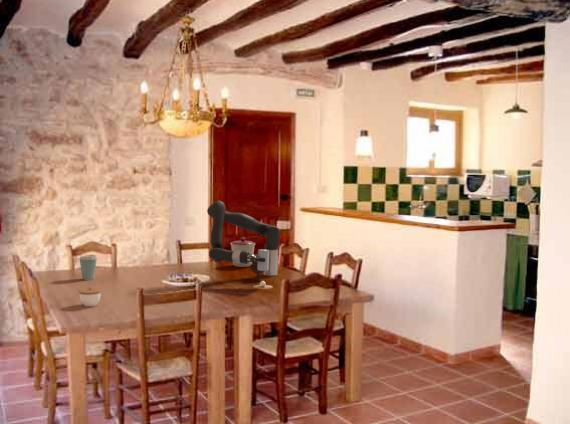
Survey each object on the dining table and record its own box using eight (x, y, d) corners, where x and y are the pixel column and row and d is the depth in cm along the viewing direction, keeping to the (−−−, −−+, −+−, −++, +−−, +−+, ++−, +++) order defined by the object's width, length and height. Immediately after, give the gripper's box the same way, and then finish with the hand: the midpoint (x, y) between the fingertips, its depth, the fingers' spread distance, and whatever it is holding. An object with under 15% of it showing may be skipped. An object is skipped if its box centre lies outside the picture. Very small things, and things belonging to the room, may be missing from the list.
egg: (261, 285, 365) (261, 280, 365) (266, 286, 364) (266, 280, 364) (259, 287, 362) (259, 281, 362) (264, 287, 361) (264, 281, 361)
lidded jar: (82, 302, 315) (82, 285, 314) (103, 302, 316) (103, 285, 315) (76, 307, 305) (76, 289, 304) (98, 307, 305) (98, 289, 305)
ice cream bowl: (264, 282, 379) (265, 258, 378) (247, 281, 381) (248, 257, 380) (268, 279, 389) (269, 256, 388) (251, 278, 391) (252, 255, 390)
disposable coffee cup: (78, 280, 370) (78, 256, 369) (80, 277, 381) (80, 254, 379) (96, 280, 372) (96, 256, 371) (97, 277, 383) (97, 253, 382)
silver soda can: (259, 268, 366) (260, 249, 365) (269, 269, 364) (270, 249, 363) (256, 270, 360) (256, 250, 359) (266, 271, 358) (266, 251, 357)
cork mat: (256, 284, 371) (256, 284, 371) (275, 286, 367) (275, 285, 367) (250, 288, 359) (250, 287, 359) (269, 290, 356) (269, 289, 356)
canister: (260, 266, 437) (260, 237, 435) (241, 269, 423) (242, 239, 422) (243, 263, 449) (243, 235, 447) (224, 265, 436) (225, 236, 434)
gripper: (236, 252, 359) (263, 254, 354) (245, 249, 372) (271, 251, 368) (236, 265, 359) (263, 267, 355) (245, 261, 373) (270, 263, 368)
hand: (267, 259), depth 361 cm, fingers closed on silver soda can, 6 cm apart
